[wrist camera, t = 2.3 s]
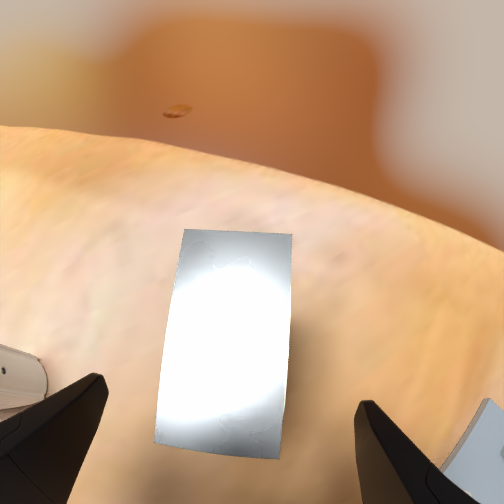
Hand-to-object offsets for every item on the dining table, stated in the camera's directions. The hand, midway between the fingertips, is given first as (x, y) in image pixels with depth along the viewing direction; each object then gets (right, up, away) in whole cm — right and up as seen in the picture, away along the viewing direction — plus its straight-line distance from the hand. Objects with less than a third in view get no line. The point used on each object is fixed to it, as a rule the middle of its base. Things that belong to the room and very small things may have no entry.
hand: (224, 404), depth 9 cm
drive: (+1, -2, +9) cm, 10 cm away
